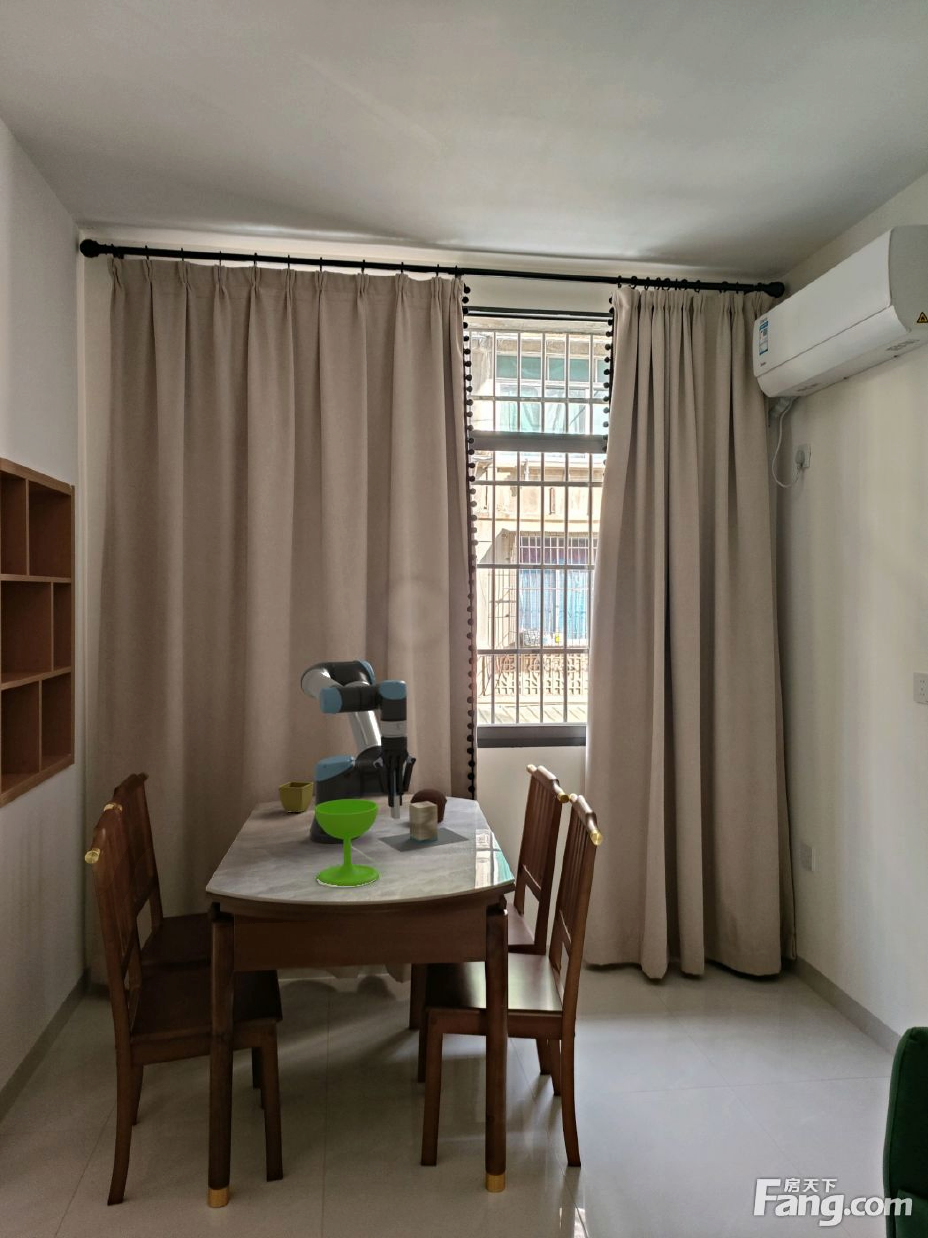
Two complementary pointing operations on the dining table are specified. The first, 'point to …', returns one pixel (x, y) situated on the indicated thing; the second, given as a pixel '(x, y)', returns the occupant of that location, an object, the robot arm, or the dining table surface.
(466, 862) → the dining table surface
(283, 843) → the dining table surface
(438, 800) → the muffin
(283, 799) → the flower pot
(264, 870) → the dining table surface
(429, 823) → the maple block
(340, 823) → the wineglass
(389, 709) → the robot arm
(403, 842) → the slate mat
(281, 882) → the dining table surface
